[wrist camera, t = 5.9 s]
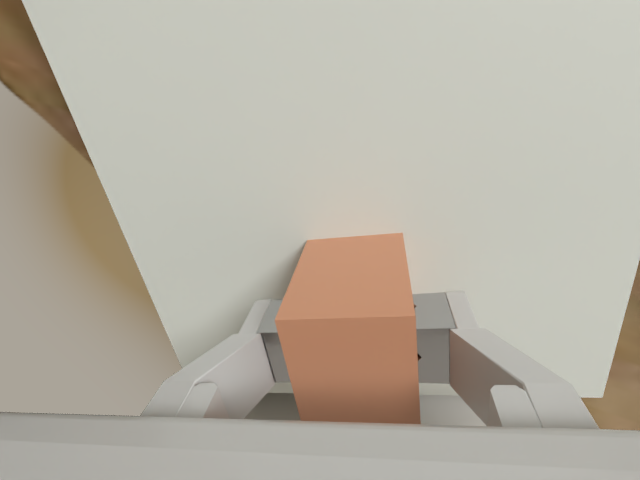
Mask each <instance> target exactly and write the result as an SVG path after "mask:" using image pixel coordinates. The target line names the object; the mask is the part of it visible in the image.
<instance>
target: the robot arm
mask: <svg viewBox="0 0 640 480" xmlns="http://www.w3.org/2000/svg"><path fill="white" fill-rule="evenodd" d="M412 296H413V302H414V309H415V315H416V335H417V356H418V378H419V383H439V384H450V386H451V387H452V388H453V389H454V391H455V392H456V393H457V394H458V395H459V396H460V397H461V398H462V399H463V400H464V402H465V403H466V404H467V405H468V406H469V407H470V408H471V409H472V410H473V412H474V413H475V414H476V415H477V416H478V417H479V418H480V419H481V420H482V422H483V423H484V424H485V425H486V426H462V425H429V424H397V423H363V422H327V421H291V420H255V419H244V418H245V417H246V416H247V415H248V414H249V412H250V411H251V410H252V409H253V408H254V407H255V406H256V405H257V404H258V403H259V402H260V400H261V399H262V398H263V397H264V396H265V395H266V394H267V393H268V392H269V391H270V390H271V388H272V387H273V386H274V385H275V383H284V382H291V381H290V378H289V374H288V370H287V366H286V362H285V358H284V355H283V351H282V347H281V343H280V339H279V336H278V332H277V328H276V324H275V318H276V315H277V313H278V310H279V308H280V305H281V303H282V301H283V299H263V300H257V301H255V303H254V305H253V306H252V308H251V310H250V312H249V314H248V316H247V318H246V320H245V322H244V324H243V325H242V327H241V329H240V331H239V333H238V334H233V335H231V336H230V337H228V338H227V339H225V340H224V341H222V342H221V343H219V344H218V345H216V346H215V347H214V348H212V349H211V350H209V351H208V352H206V353H205V354H203V355H202V356H200V357H199V358H197V359H196V360H194V361H193V362H191V363H190V364H188V365H187V366H185V367H184V368H183V369H181V370H180V371H178V372H177V373H175V374H174V375H172V376H171V377H169V378H168V379H166V380H165V381H163V383H162V384H161V386H160V387H159V389H158V390H157V392H156V393H155V395H154V396H153V398H152V399H151V401H150V402H149V403H148V405H147V407H146V408H145V409H144V411H143V412H142V414H141V415H140V416H115V415H80V414H47V413H13V412H0V480H640V430H605V429H599V427H598V426H597V424H596V422H595V421H594V419H593V418H592V416H591V414H590V413H589V411H588V409H587V408H586V406H585V405H584V403H583V401H582V400H581V398H580V397H579V395H578V393H577V392H576V390H575V388H574V387H573V385H572V384H571V383H569V382H568V381H566V380H564V379H563V378H561V377H560V376H558V375H557V374H555V373H554V372H552V371H551V370H549V369H547V368H546V367H544V366H543V365H541V364H540V363H538V362H537V361H535V360H534V359H532V358H531V357H529V356H527V355H526V354H524V353H523V352H521V351H520V350H518V349H517V348H515V347H514V346H512V345H511V344H509V343H507V342H506V341H504V340H503V339H501V338H500V337H498V336H497V335H495V334H494V333H492V332H490V331H489V330H487V329H486V328H479V326H478V323H477V321H476V318H475V316H474V313H473V311H472V308H471V306H470V303H469V301H468V299H467V296H466V294H465V292H464V291H463V290H462V291H449V292H440V293H422V294H412Z"/></svg>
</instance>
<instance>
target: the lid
mask: <svg viewBox="0 0 640 480" xmlns="http://www.w3.org/2000/svg"><path fill="white" fill-rule="evenodd" d="M22 2H23V4H24V6H25V9H26V11H27V13H28V16H29V18H30V20H31V23H32V25H33V27H34V29H35V32H36V34H37V36H38V39H39V41H40V43H41V46H42V48H43V50H44V52H45V55H46V57H47V59H48V62H49V64H50V66H51V69H52V71H53V73H54V75H55V78H56V80H57V82H58V85H59V87H60V89H61V92H62V94H63V96H64V98H65V101H66V103H67V105H68V108H69V110H70V112H71V115H72V117H73V119H74V121H75V124H76V126H77V128H78V131H79V133H80V135H81V138H82V140H83V142H84V144H85V147H86V149H87V151H88V154H89V156H90V158H91V160H92V163H93V165H94V167H95V170H96V172H97V174H98V177H99V179H100V181H101V183H102V186H103V188H104V190H105V193H106V195H107V197H108V200H109V202H110V204H111V206H112V209H113V211H114V213H115V216H116V218H117V220H118V223H119V225H120V227H121V229H122V232H123V234H124V236H125V239H126V241H127V243H128V245H129V248H130V250H131V252H132V254H133V257H134V259H135V262H136V264H137V266H138V269H139V271H140V273H141V275H142V278H143V280H144V282H145V285H146V287H147V289H148V291H149V294H150V296H151V298H152V301H153V303H154V305H155V308H156V310H157V312H158V314H159V317H160V319H161V321H162V324H163V326H164V328H165V330H166V333H167V335H168V338H169V340H170V342H171V344H172V347H173V349H174V351H175V354H176V356H177V358H178V361H179V363H180V365H181V367H182V369H183V368H184V367H185V366H187V365H188V364H190V363H191V362H193V361H194V360H196V359H197V358H199V357H200V356H202V355H203V354H205V353H206V352H208V351H209V350H211V349H212V348H214V347H215V346H216V345H218V344H219V343H221V342H222V341H224V340H225V339H227V338H228V337H230V336H231V335H233V334H238V333H239V331H240V329H241V327H242V325H243V324H244V322H245V320H246V318H247V316H248V314H249V312H250V310H251V308H252V306H253V305H254V303H255V301H257V300H263V299H283V301H282V303H281V305H280V308H279V310H278V313H277V315H276V318H275V324H276V328H277V332H278V336H279V339H280V343H281V347H282V351H283V355H284V358H285V362H286V366H287V370H288V374H289V378H290V381H291V382H284V383H275V385H274V386H273V387H272V388H271V390H270V391H269V392H268V393H294V397H295V400H296V404H297V408H298V412H299V416H300V420H301V421H327V422H363V423H397V424H421V420H420V399H419V395H451V396H459V395H458V394H457V393H456V392H455V391H454V389H453V388H452V387H451V386H450V384H439V383H419V378H418V356H417V335H416V315H415V309H414V302H413V296H412V294H422V293H440V292H449V291H462V290H463V291H464V292H465V294H466V296H467V299H468V301H469V303H470V306H471V308H472V311H473V313H474V316H475V318H476V321H477V323H478V326H479V328H486V329H487V330H489V331H490V332H492V333H494V334H495V335H497V336H498V337H500V338H501V339H503V340H504V341H506V342H507V343H509V344H511V345H512V346H514V347H515V348H517V349H518V350H520V351H521V352H523V353H524V354H526V355H527V356H529V357H531V358H532V359H534V360H535V361H537V362H538V363H540V364H541V365H543V366H544V367H546V368H547V369H549V370H551V371H552V372H554V373H555V374H557V375H558V376H560V377H561V378H563V379H564V380H566V381H568V382H569V383H571V384H572V385H573V387H574V388H575V390H576V392H577V393H578V395H579V397H591V398H602V397H603V393H604V389H605V386H606V382H607V378H608V375H609V371H610V367H611V363H612V360H613V356H614V352H615V349H616V345H617V341H618V337H619V334H620V330H621V326H622V323H623V319H624V315H625V311H626V308H627V304H628V300H629V296H630V293H631V289H632V285H633V282H634V278H635V274H636V270H637V267H638V263H639V259H640V0H22Z"/></svg>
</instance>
